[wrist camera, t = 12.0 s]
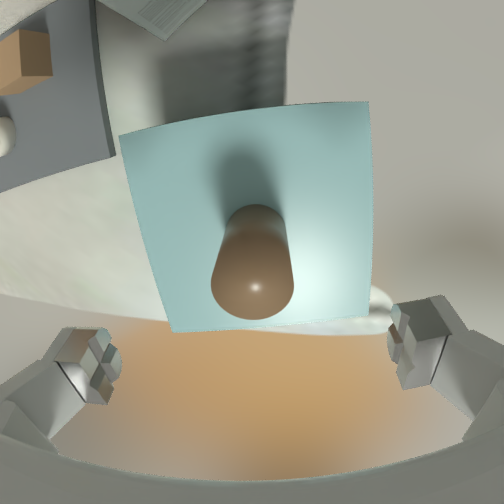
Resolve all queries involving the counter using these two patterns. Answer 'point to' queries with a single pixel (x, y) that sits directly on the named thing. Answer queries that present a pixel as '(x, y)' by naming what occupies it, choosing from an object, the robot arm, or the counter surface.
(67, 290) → the counter surface
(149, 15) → the skincare box
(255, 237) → the cover
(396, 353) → the robot arm
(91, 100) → the mat
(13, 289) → the counter surface
